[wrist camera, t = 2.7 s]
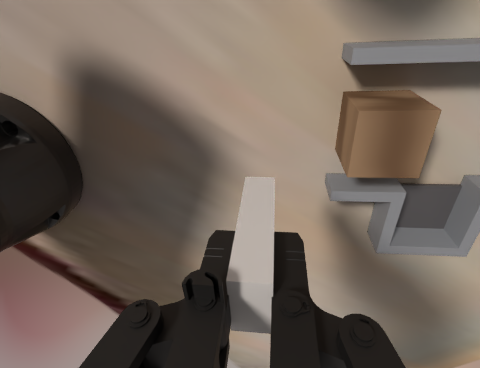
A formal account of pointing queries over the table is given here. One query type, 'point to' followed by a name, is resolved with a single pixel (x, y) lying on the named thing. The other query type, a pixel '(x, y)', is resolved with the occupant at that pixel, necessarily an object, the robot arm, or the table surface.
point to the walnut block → (385, 133)
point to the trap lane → (414, 195)
